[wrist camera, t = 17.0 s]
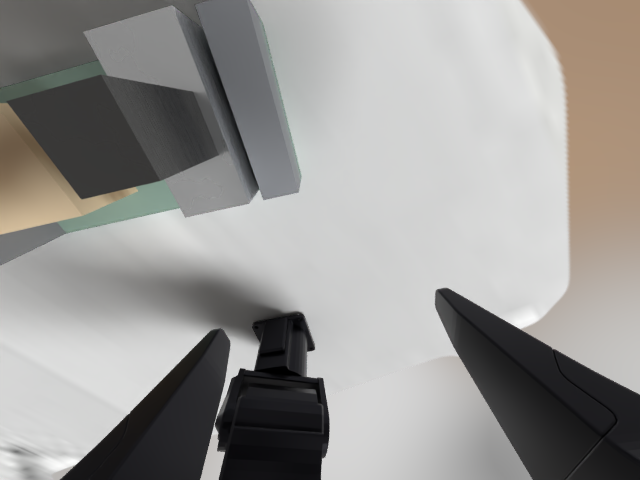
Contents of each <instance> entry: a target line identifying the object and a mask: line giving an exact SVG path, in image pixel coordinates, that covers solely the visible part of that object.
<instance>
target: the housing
mask: <svg viewBox="0 0 640 480" xmlns="http://www.w3.org/2000/svg"><path fill="white" fill-rule="evenodd" d="M135 192H138V190H137V188H136V187H133V188H129V189H124V190H120V191H116V192H112V193H107V194H103V195H99V196H95V197H90V198H86V199H82V200H81V199H80V197H79V196H78V195H77V193H76V192H75V191H74V189H73V188H72V187H71V186H70V184H69V183H68V182H67V180H66V179H65V178H64V176H63V175H62V174H61V172H60V171H59V170H58V169H57V167H56V166H55V165H54V163H53V162H52V161H51V159H50V158H49V157H48V155H47V154H46V153H45V151H44V150H43V149H42V148H41V146H40V145H39V144H38V142H37V141H36V140H35V138H34V137H33V136H32V134H31V133H30V132H29V131H28V129H27V128H26V127H25V125H24V124H23V123H22V121H21V120H20V119H19V117H18V116H17V115H16V114H15V112H14V111H13V110H12V108H11V107H10V106H9V104H8V103H0V235H1V234H5V233H10V232H14V231H18V230H23V229H27V228H32V227H36V226H40V225H45V224H49V223H53V222H58V221H62V220H66V219H71V218H75V217H80V216H83V215H86V214H88V213H90V212H92V211H95V210H97V209H99V208H102V207H104V206H106V205H108V204H111V203H113V202H115V201H117V200H120V199H122V198H124V197H126V196H129V195H131V194H133V193H135Z"/></svg>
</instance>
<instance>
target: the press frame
mask: <svg viewBox="0 0 640 480" xmlns="http://www.w3.org/2000/svg"><path fill="white" fill-rule="evenodd" d="M195 7H196V10H197V13H198V16H199V18H200V21H201V24H202V27H203V30H204V33H205V35H206V38H207V41H208V44H209V47H210V50H211V52H212V55H213V58H214V61H215V64H216V67H217V70H218V72H219V75H220V78H221V81H222V84H223V87H224V89H225V92H226V95H227V98H228V101H229V104H230V106H231V109H232V112H233V115H234V118H235V121H236V123H237V126H238V129H239V132H240V135H241V138H242V141H243V143H244V146H245V149H246V152H247V155H248V158H249V160H250V163H251V166H252V169H253V172H254V175H255V177H256V180H257V183H258V186H259V190H260V192H261V194H262V197H263V200H266V199H270V198H275V197H280V196H284V195H289V194H293V193H298V192H299V187H300V182H301V173H300V169H299V165H298V161H297V157H296V153H295V149H294V145H293V141H292V137H291V133H290V129H289V125H288V121H287V117H286V113H285V109H284V105H283V101H282V97H281V93H280V89H279V86H278V82H277V78H276V74H275V70H274V66H273V62H272V58H271V54H270V50H269V46H268V42H267V38H266V34H265V30H264V26H263V23H262V21H261V19H260V17H259V15H258V14H257V12H256V10H255V8H254V6H253V5H252V3H251V1H250V0H208V1H205V2H201V3H198V4H195ZM97 75H106V76H107V74H106V73H105V71H104V69H103V67H102V65H101V64H100V62H99V60H97V61H93V62H90V63H86V64H83V65H79V66H76V67H72V68H69V69H65V70H62V71H58V72H55V73H51V74H48V75H45V76H41V77H38V78H34V79H31V80H27V81H24V82H20V83H17V84H13V85H10V86H6V87H3V88H0V103H7V102H6V101H8V100H12V99H16V98H19V97H23V96H26V95H30V94H33V93H37V92H40V91H44V90H48V89H51V88H55V87H58V86H62V85H65V84H69V83H72V82H76V81H79V80H83V79H87V78H90V77H94V76H97ZM136 188H137V190H138V192H135V193H133V194H131V195H129V196H126V197H124V198H122V199H120V200H117V201H115V202H113V203H111V204H108V205H106V206H104V207H102V208H99V209H97V210H95V211H92V212H90V213H88V214H86V215H83V216H80V217H75V218H71V219H66V220H62V221H58V222H53V223H49V224H45V225H40V226H36V227H32V228H27V229H23V230H18V231H14V232H10V233H5V234H1V235H0V265H2V264H4V263H6V262H8V261H10V260H12V259H14V258H17V257H19V256H21V255H23V254H25V253H27V252H29V251H31V250H33V249H35V248H37V247H39V246H41V245H43V244H45V243H47V242H50V241H52V240H54V239H56V238H58V237H60V236H62V235H64V234H66V233H70V232H74V231H79V230H83V229H88V228H92V227H97V226H101V225H106V224H110V223H115V222H119V221H124V220H128V219H133V218H137V217H142V216H146V215H151V214H155V213H159V212H164V211H168V210H173V209H177V208H180V207H179V205H178V203H177V202H176V200H175V198H174V196H173V194H172V192H171V191H170V189H169V187H168V185H167V183H166V182H165V180H162V181H158V182H154V183H150V184H146V185H141V186H137V187H136Z"/></svg>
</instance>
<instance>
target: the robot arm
mask: <svg viewBox="0 0 640 480" xmlns="http://www.w3.org/2000/svg"><path fill="white" fill-rule="evenodd" d="M435 307H436V310H437V312H438V314H439V317H440V319H441V321H442V323H443V325H444V327H445V330H446V332H447V334H448V336H449V338H450V340H451V342H452V344H453V347H454V348H455V350H456V352H457V354H458V355H459V357H460V359H461V360H462V362H463V363H464V365H465V367H466V369H467V370H468V372H469V374H470V375H471V377H472V378H473V380H474V382H475V384H476V385H477V387H478V389H479V390H480V392H481V394H482V395H483V397H484V399H485V400H486V402H487V404H488V405H489V407H490V409H491V410H492V412H493V414H494V415H495V417H496V419H497V421H498V422H499V424H500V426H501V427H502V429H503V431H504V432H505V434H506V436H507V437H508V439H509V440H510V442H511V444H512V446H513V447H514V449H515V451H516V452H517V454H518V455H519V457H520V459H521V461H522V462H523V464H524V466H525V467H526V469H527V471H528V472H529V474H530V476H531V477H532V479H533V480H640V395H639V394H638V393H636V392H633V391H632V390H630V389H628V388H626V387H624V386H622V385H620V384H618V383H616V382H614V381H612V380H610V379H608V378H606V377H604V376H602V375H600V374H599V373H597V372H595V371H593V370H591V369H589V368H587V367H586V366H584V365H582V364H580V363H578V362H576V361H575V360H573V359H571V358H569V357H568V356H566V355H564V354H562V353H561V352H559V351H557V350H555V349H552V348H551V347H550V346H548V345H546V344H545V343H543V342H541V341H539V340H538V339H536V338H534V337H532V336H531V335H529V334H527V333H526V332H524V331H522V330H520V329H519V328H517V327H515V326H513V325H512V324H510V323H508V322H506V321H505V320H503V319H501V318H499V317H498V316H496V315H494V314H492V313H491V312H489V311H487V310H485V309H484V308H482V307H480V306H478V305H477V304H475V303H473V302H471V301H470V300H468V299H466V298H464V297H463V296H461V295H459V294H457V293H456V292H454V291H452V290H450V289H449V288H442V289H437V290H436V293H435ZM300 318H301V319H300ZM252 328H253V330H254V332H255V334H256V336H257V338H258V339H259V341H260V346H259V350H258V355H257V360H256V364H255V369H254V371H250V370H245V369H242V368H240V370H239V373H238V375H237V376H236V377H234V378H232V379H231V382H230V386H229V389H228V392H227V395H226V398H225V400H224V402H223V405H222V407H221V409H220V412H219V414H218V416H217V419H216V415H217V411H218V407H219V403H220V399H221V395H222V391H223V387H224V383H225V377H226V371H227V364H228V358H229V351H230V340H229V338H228V337H227V335H226V334H225V332H224V330H223V329H221V328H219V329H214V330H211V331H210V332H209V333H208V334H207V335H206V336H205V337H204V338H203V339H202V340H201V341H200V342H199V343H198V344H197V345H196V346H195V347H194V348H193V349H192V350H191V351H190V352H189V353H188V354H187V355H186V356H185V357H184V358H183V359H182V360H181V361H180V362H179V363H178V364H177V365H176V366H175V367H174V368H173V369H172V370H171V371H170V372H169V373H168V375H167V376H166V377H165V378H164V379H163V380H162V381H161V382H160V383H159V384H158V385H157V386H156V387H155V388H154V389H153V390H152V391H151V392H150V393H149V394H148V395H147V396H146V397H145V398H144V399H143V400H142V401H141V402H140V403H139V404H138V405H137V406H136V407H135V408H134V409H133V410H132V411H131V412H130V414H128V415H127V416H126V417H125V418H124V419H123V420H122V421H121V422H120V423H119V424H118V425H117V426H116V427H115V428H114V429H113V430H112V431H111V432H110V433H109V434H108V435H107V436H106V437H105V438H104V439H103V440H102V441H101V442H100V443H99V444H98V445H97V446H96V447H95V448H93V449H92V450H91V451H90V452H89V453H88V454H87V455H86V456H85V457H84V458H83V459H82V460H81V461H80V462H79V463H78V464H76V465H75V466H74V467H73V468H72V469H71V470H70V471H69V472H68V473H67V474H66V475H65V476H63V477H62V478H61V479H60V480H200V478H201V474H202V470H203V466H204V462H205V458H206V454H207V450H208V446H209V443H210V439H211V435H212V431H213V427H214V423H215V427H216V429H217V431H218V433H219V434H218V440H219V443H218V448H217V451H221V452H225V455H224V459H223V464H222V468H221V472H220V476H219V480H321V464H322V458H324V457H325V456H326V453H327V449H328V442H329V412H328V406H327V400H326V394H325V388H324V382H323V378H310V377H307V352H308V351H313V350H315V344H314V341H313V339H312V336H311V333H310V330H309V327H308V324H307V322H306V319H305V316H304V315H302V314H299V315H293V316H288V317H282V318H276V319H271V320H265V321H259V322H255V323H253V326H252ZM215 419H216V422H215Z"/></svg>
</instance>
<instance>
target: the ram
mask: <svg viewBox="0 0 640 480" xmlns="http://www.w3.org/2000/svg"><path fill="white" fill-rule="evenodd" d="M83 33H84V35H85V36H86V38H87V40H88V42H89V44H90V45H91V47H92V49H93V51H94V53H95V55H96V56H97V58H98V60H99V62H100V64H101V65H102V67H103V69H104V71H105V73H106V74H107V76H106V75H97V76H94V77H90V78H87V79H83V80H79V81H76V82H72V83H69V84H65V85H62V86H58V87H55V88H51V89H48V90H44V91H40V92H37V93H33V94H30V95H26V96H23V97H19V98H16V99H12V100H8V101H6V102H7V103H8V104H9V106H10V107H11V108H12V110H13V111H14V112H15V114H16V115H17V116H18V117H19V119H20V120H21V121H22V123H23V124H24V125H25V127H26V128H27V129H28V131H29V132H30V133H31V134H32V136H33V137H34V138H35V140H36V141H37V142H38V144H39V145H40V146H41V148H42V149H43V150H44V151H45V153H46V154H47V155H48V157H49V158H50V159H51V161H52V162H53V163H54V165H55V166H56V167H57V169H58V170H59V171H60V172H61V174H62V175H63V176H64V178H65V179H66V180H67V182H68V183H69V184H70V186H71V187H72V188H73V189H74V191H75V192H76V193H77V195H78V196H79V197H80V199H81V200H82V199H86V198H90V197H95V196H99V195H103V194H107V193H112V192H116V191H120V190H124V189H129V188H133V187H137V186H141V185H146V184H150V183H154V182H158V181H162V180H165V182H166V183H167V185H168V187H169V189H170V191H171V192H172V194H173V196H174V198H175V200H176V202H177V203H178V205H179V207H180V209H181V211H182V212H183V214H184V216H185V217H190V216H194V215H199V214H203V213H208V212H213V211H217V210H222V209H226V208H231V207H235V206H240V205H244V204H249V203H250V202H251V200H252V199H253V197H254V196H255V195H256V193H257V192H258V190H259V186H258V183H257V180H256V177H255V175H254V172H253V169H252V166H251V163H250V160H249V158H248V155H247V152H246V149H245V146H244V143H243V141H242V138H241V135H240V132H239V129H238V126H237V123H236V121H235V118H234V115H233V112H232V109H231V106H230V104H229V101H228V98H227V95H226V92H225V89H224V87H223V84H222V81H221V78H220V75H219V72H218V70H217V67H216V64H215V61H214V58H213V55H212V52H211V50H210V47H209V44H208V41H207V38H206V35H205V33H204V30H203V28H201V27H200V26H199V25H197V24H196V23H195V22H193V21H192V20H191V19H190V18H188V17H187V16H186V15H184V14H183V13H182V12H181V11H179V10H178V9H177V8H175V7H174V6H173V5H171V6H167V7H164V8H161V9H157V10H154V11H151V12H147V13H144V14H141V15H137V16H134V17H131V18H127V19H124V20H121V21H117V22H114V23H111V24H107V25H104V26H101V27H97V28H94V29H91V30H87V31H84V32H83Z"/></svg>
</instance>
